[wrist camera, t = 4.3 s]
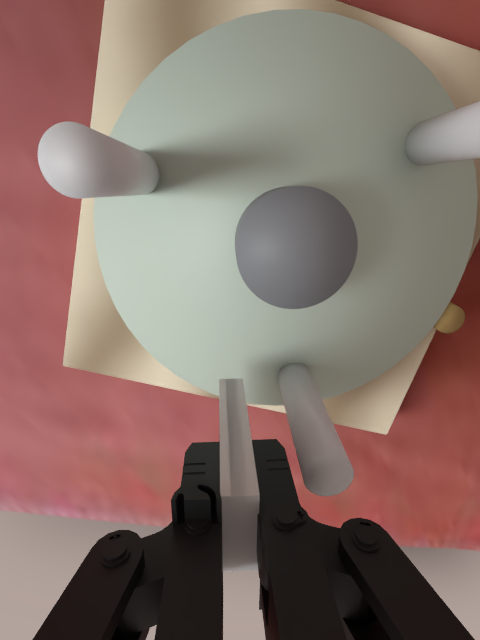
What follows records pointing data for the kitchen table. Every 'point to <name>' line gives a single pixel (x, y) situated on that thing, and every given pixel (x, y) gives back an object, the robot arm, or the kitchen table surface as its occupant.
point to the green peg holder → (281, 212)
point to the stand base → (109, 101)
